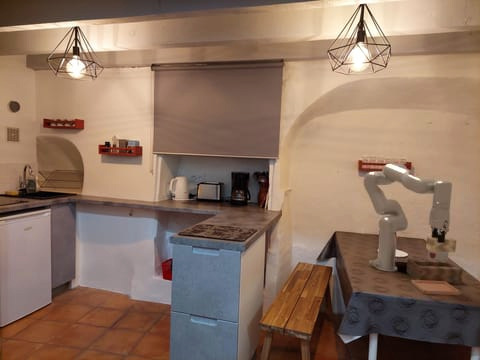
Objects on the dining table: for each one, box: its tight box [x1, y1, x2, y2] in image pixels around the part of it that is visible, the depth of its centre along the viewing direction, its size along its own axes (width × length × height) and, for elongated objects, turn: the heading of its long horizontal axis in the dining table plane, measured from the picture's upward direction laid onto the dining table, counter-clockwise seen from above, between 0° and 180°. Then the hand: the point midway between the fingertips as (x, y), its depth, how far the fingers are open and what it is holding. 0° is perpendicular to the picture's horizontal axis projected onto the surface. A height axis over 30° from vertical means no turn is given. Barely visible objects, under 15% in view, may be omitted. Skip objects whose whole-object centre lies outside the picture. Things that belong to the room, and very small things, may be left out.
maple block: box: [425, 236, 457, 253], centre depth 163 cm, size 12×4×6 cm, turn 89°
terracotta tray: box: [410, 279, 462, 296], centre depth 166 cm, size 18×13×2 cm
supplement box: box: [426, 249, 449, 261], centre depth 197 cm, size 9×9×15 cm
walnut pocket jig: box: [406, 258, 464, 285], centre depth 180 cm, size 22×14×8 cm, turn 89°
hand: (437, 240), depth 163 cm, fingers closed on maple block, 4 cm apart
